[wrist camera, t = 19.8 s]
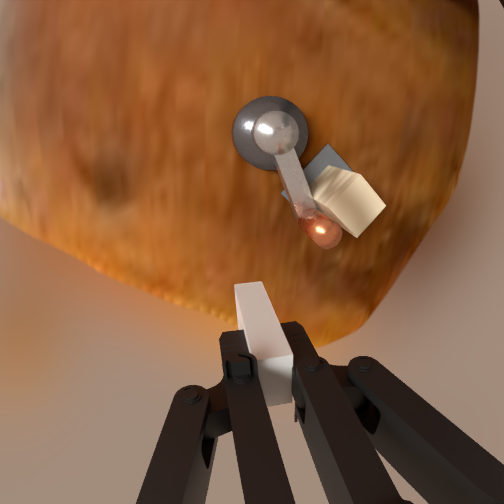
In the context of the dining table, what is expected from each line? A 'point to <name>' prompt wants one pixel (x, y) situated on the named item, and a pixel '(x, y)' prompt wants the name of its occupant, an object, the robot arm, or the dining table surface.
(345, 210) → the block
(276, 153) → the crank
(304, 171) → the pad
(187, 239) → the dining table surface
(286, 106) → the crank base
